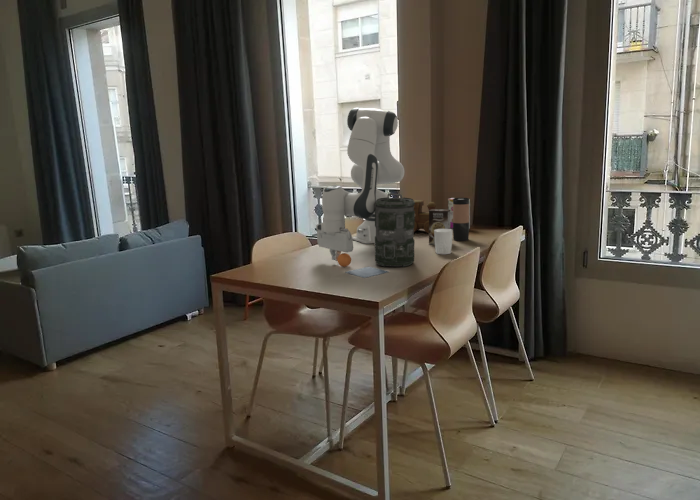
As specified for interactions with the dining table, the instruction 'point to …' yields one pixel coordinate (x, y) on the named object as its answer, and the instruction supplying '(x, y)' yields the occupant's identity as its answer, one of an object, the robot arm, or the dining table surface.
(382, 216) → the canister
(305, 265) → the dining table surface
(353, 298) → the dining table surface
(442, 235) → the white cup
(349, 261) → the ball
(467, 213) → the travel mug
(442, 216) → the coffee box
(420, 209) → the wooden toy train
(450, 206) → the candy bar box
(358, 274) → the mark
